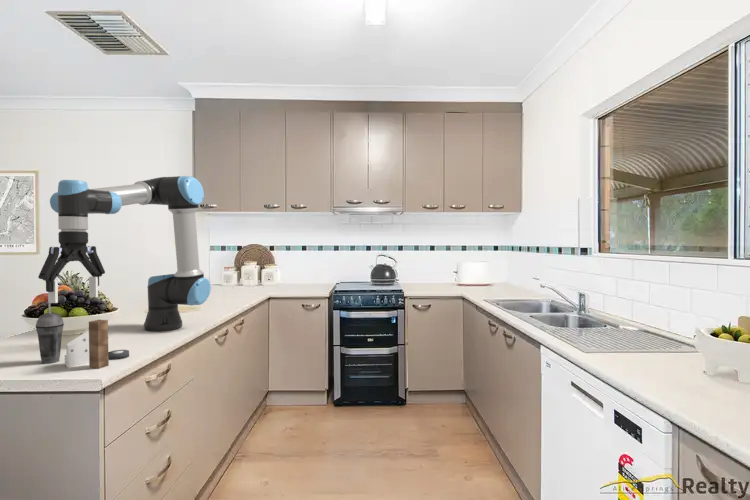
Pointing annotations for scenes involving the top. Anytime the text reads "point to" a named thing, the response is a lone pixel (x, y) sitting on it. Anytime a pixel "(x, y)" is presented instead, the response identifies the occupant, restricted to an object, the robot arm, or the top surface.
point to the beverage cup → (49, 336)
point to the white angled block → (78, 351)
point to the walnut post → (98, 344)
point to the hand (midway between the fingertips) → (74, 299)
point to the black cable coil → (118, 354)
